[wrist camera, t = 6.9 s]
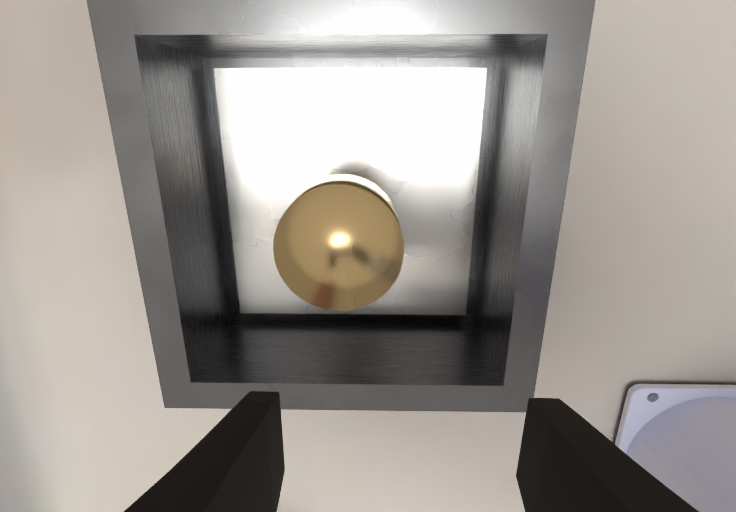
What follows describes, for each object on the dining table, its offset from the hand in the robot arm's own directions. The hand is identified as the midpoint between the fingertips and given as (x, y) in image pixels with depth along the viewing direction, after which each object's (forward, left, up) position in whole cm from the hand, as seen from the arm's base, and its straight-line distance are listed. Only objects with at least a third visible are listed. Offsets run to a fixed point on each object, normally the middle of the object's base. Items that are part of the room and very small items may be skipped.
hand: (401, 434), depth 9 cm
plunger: (+2, -3, -9) cm, 10 cm away
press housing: (+2, -3, -10) cm, 11 cm away
